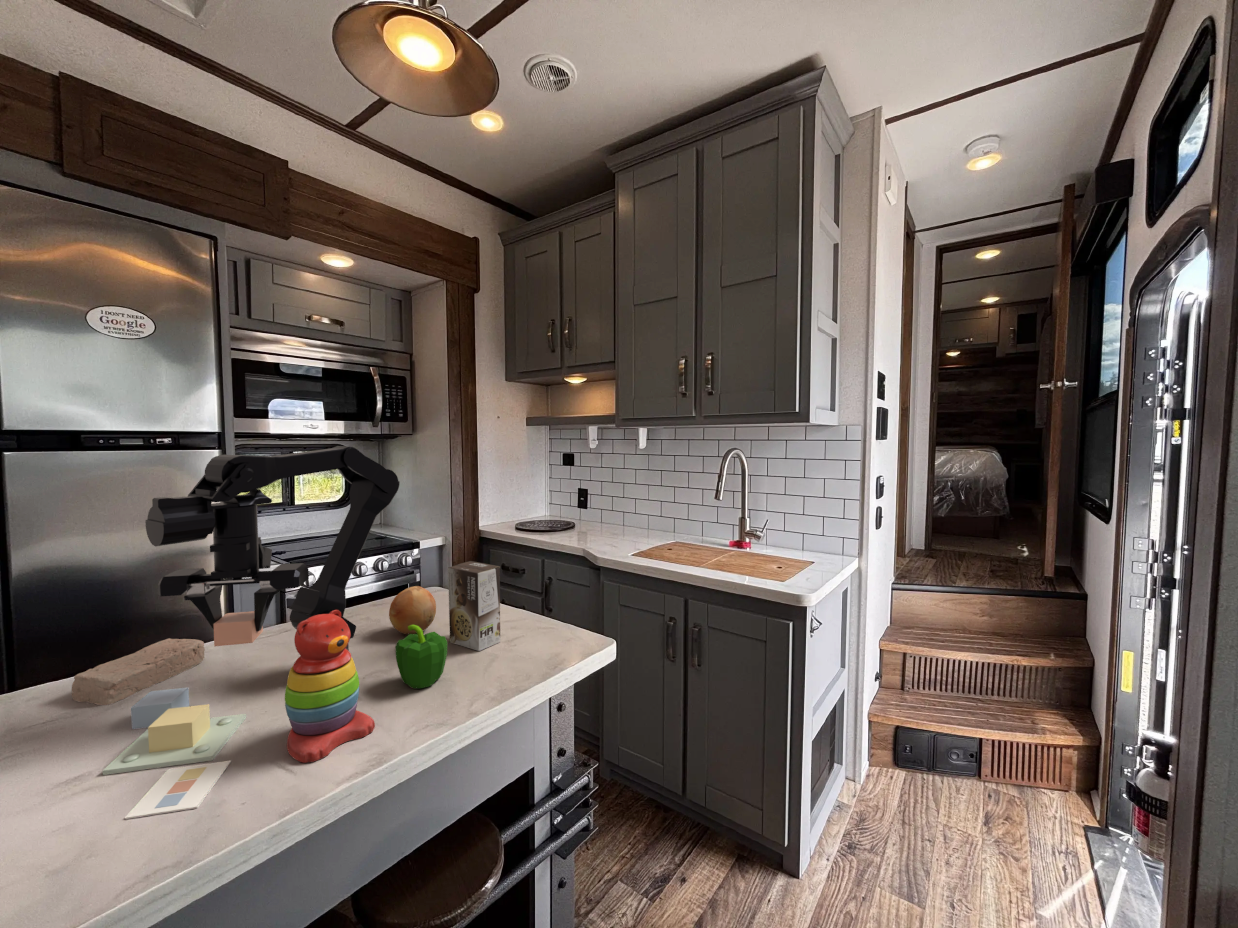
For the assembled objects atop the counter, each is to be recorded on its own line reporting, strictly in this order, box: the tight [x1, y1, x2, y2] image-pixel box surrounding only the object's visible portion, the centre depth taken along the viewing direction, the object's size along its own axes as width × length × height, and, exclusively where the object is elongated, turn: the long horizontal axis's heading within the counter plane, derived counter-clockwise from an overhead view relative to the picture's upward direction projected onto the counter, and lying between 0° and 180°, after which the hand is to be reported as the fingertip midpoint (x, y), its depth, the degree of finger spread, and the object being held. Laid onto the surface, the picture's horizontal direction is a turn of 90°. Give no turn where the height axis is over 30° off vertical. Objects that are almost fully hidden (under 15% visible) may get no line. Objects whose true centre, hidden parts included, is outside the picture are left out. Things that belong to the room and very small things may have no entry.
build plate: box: [102, 703, 247, 776], centre depth 75 cm, size 12×11×4 cm
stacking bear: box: [284, 610, 376, 764], centre depth 76 cm, size 11×10×18 cm
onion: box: [388, 585, 437, 635], centre depth 116 cm, size 10×10×10 cm
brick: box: [71, 637, 206, 706], centre depth 94 cm, size 17×8×5 cm, turn 170°
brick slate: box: [130, 686, 190, 730], centre depth 81 cm, size 5×5×4 cm
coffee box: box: [447, 560, 501, 652], centre depth 111 cm, size 9×6×16 cm
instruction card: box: [124, 760, 232, 820], centre depth 65 cm, size 7×9×1 cm
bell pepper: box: [394, 625, 448, 689], centre depth 93 cm, size 8×8×10 cm
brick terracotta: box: [213, 610, 264, 647], centre depth 84 cm, size 5×5×4 cm
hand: (239, 632), depth 84 cm, fingers closed on brick terracotta, 5 cm apart
